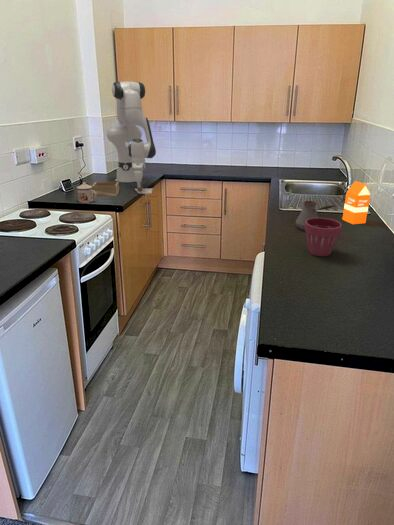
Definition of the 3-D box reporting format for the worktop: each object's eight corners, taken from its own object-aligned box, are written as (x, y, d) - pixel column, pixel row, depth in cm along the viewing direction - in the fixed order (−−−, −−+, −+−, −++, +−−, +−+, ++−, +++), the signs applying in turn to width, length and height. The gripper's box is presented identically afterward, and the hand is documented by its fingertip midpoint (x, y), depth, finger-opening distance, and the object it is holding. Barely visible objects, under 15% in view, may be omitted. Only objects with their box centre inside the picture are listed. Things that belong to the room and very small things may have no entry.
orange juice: (352, 224, 196) (359, 184, 188) (341, 219, 204) (347, 181, 196) (365, 223, 198) (372, 183, 190) (354, 218, 206) (361, 180, 198)
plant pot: (336, 261, 152) (341, 229, 147) (299, 255, 157) (303, 225, 152) (338, 248, 164) (343, 219, 159) (304, 244, 169) (307, 215, 164)
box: (96, 192, 258) (95, 182, 256) (119, 192, 259) (118, 181, 257) (92, 197, 247) (91, 186, 244) (116, 196, 247) (115, 185, 245)
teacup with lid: (75, 203, 233) (72, 183, 228) (83, 199, 241) (81, 180, 236) (92, 204, 229) (90, 185, 225) (100, 201, 237) (99, 182, 233)
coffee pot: (290, 226, 192) (293, 196, 186) (308, 223, 197) (311, 194, 191) (320, 239, 175) (325, 207, 169) (339, 236, 179) (344, 204, 174)
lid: (129, 190, 269) (128, 182, 267) (152, 189, 270) (152, 182, 268) (127, 194, 256) (126, 187, 254) (151, 194, 257) (151, 187, 255)
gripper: (135, 162, 265) (136, 182, 270) (132, 167, 246) (133, 189, 252) (144, 162, 265) (145, 182, 271) (142, 167, 247) (143, 189, 252)
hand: (139, 186), depth 261 cm, fingers open, 8 cm apart
